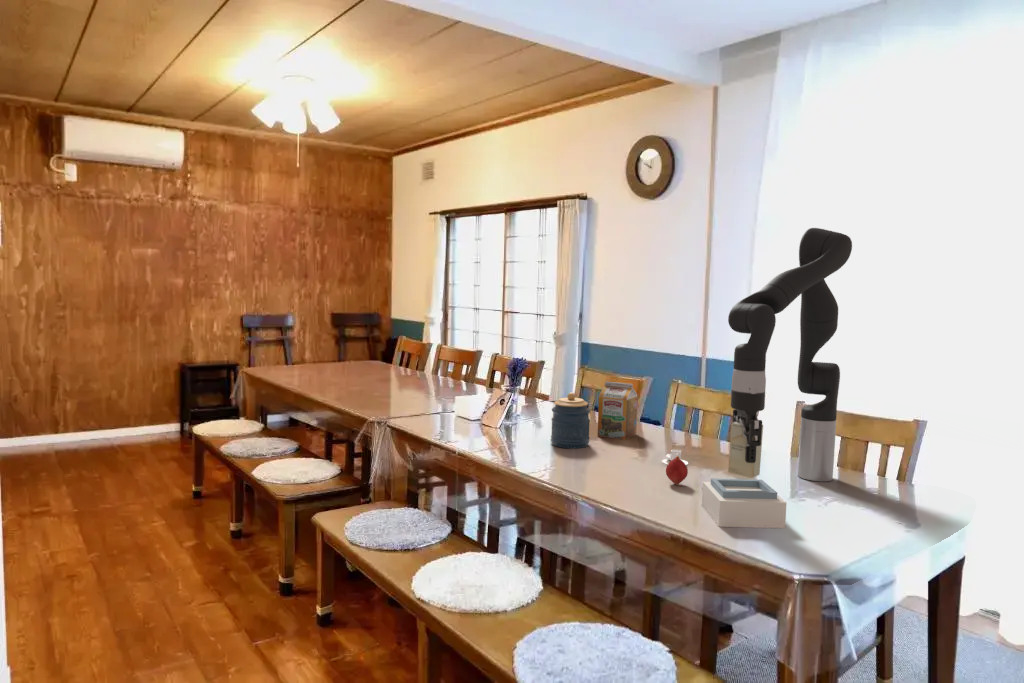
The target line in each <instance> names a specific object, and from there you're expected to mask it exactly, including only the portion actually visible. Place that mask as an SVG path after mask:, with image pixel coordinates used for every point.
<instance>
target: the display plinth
mask: <svg viewBox="0 0 1024 683" xmlns="http://www.w3.org/2000/svg"><path fill="white" fill-rule="evenodd" d="M701 493H702V495H701V496H702V497H701V507H703V509H704V510H705V512H706V513H707V514H708V515H709V516H710V517H711V519H712V520H713V521H714V523H715V524H716V525H717V526H718V527H721V528H725V527H726V528H754V529H755V528H761V529H762V528H763V529H764V528H765V529H766V528H767V529H786V520H787V519H786V518H787V503H788V502H787V501H786V500H784V499H783V498H782V497H780V495H778V492H777V491H776V489H774V488H772V487H771V486H770V485H769V484H768V483H766V482H765V481H764V480H763V479H753V478H749V479H748V478H747V479H745V478H744V479H742V478H710V481H702V492H701Z"/></svg>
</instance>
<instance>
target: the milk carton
mask: <svg viewBox="0 0 1024 683" xmlns="http://www.w3.org/2000/svg"><path fill="white" fill-rule="evenodd" d="M638 396H639V395H638V392H636V390H635V389H634V385H633V383H626V382H625V383H623V382H612V381H605V382H604V386H603V387H602V389H601V391H600V393H599V396H598V409H597V410H598V412H597V436H598V437H604V438H610V439H616V438H617V440H623V439H624V441H625V440H628V439H630V438H632V437H634V436H635V435H637V425H638V423H637V421H638V419H637V418H638V398H639V397H638ZM627 438H628V439H627Z"/></svg>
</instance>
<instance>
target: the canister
mask: <svg viewBox="0 0 1024 683" xmlns="http://www.w3.org/2000/svg"><path fill="white" fill-rule="evenodd" d="M554 404H555V406H554V407H552V408H551V411H552V417H551V434H550V435H551V436H550V441H551V444H552V445H553V446H554V447H558V448H561V449H562V448H563V449H582V448H586V447H588V446H589V445H590V438H591V437H590V422H591V419H590V417H589V415H590V413H591V409H590V408H588V405H589V402H588V401H586V400H584V399H583V398H581V397H576V395H575V393H574V392H569V393H567V397H560V398H558V399H557V400H555V401H554Z"/></svg>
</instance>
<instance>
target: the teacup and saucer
mask: <svg viewBox="0 0 1024 683" xmlns="http://www.w3.org/2000/svg"><path fill="white" fill-rule="evenodd" d="M676 456H679V458H680V459H681V460H682V461H683V462H684V463H685V465H686V466H687V465H689V462H688V461H687V460H684V459H682V450H680V449H671V450H670V453H667V454H666V455H665V459H662V460H661V463H663V464H665V465H668V464H669V462H667V461H671V460H673V459H674V458H676Z"/></svg>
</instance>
